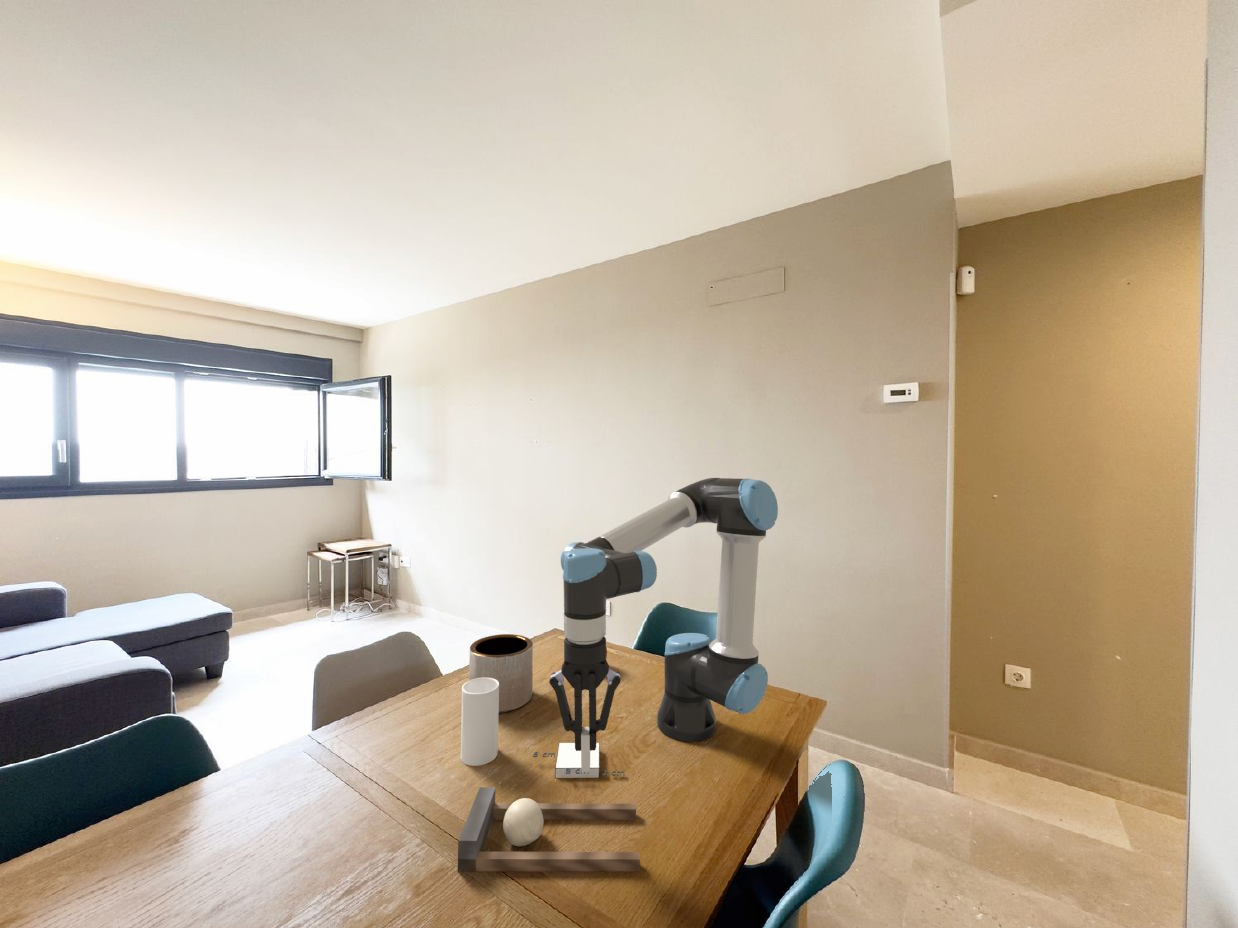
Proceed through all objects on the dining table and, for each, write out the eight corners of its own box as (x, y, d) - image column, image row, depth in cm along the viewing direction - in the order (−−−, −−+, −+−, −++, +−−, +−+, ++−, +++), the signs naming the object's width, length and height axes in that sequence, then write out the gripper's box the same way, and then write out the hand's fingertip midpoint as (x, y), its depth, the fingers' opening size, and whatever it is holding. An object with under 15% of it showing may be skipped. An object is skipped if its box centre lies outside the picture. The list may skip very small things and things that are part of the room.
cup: (487, 768, 105) (488, 695, 105) (453, 762, 106) (454, 691, 106) (503, 746, 113) (505, 679, 113) (471, 742, 114) (473, 675, 115)
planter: (545, 695, 138) (546, 641, 138) (499, 722, 123) (500, 662, 123) (501, 679, 148) (502, 629, 148) (454, 703, 133) (455, 647, 133)
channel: (635, 813, 92) (635, 787, 92) (639, 871, 79) (640, 840, 79) (479, 813, 91) (479, 787, 91) (457, 870, 78) (458, 840, 78)
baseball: (520, 864, 80) (521, 824, 80) (495, 841, 85) (496, 803, 85) (551, 840, 85) (552, 803, 85) (526, 820, 90) (526, 784, 90)
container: (622, 752, 112) (622, 740, 112) (624, 784, 101) (624, 771, 101) (536, 753, 111) (536, 741, 111) (528, 785, 100) (528, 773, 100)
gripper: (620, 628, 89) (621, 753, 89) (551, 629, 89) (552, 754, 89) (622, 644, 82) (622, 780, 82) (545, 645, 81) (546, 781, 82)
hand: (585, 766), depth 86 cm, fingers closed
